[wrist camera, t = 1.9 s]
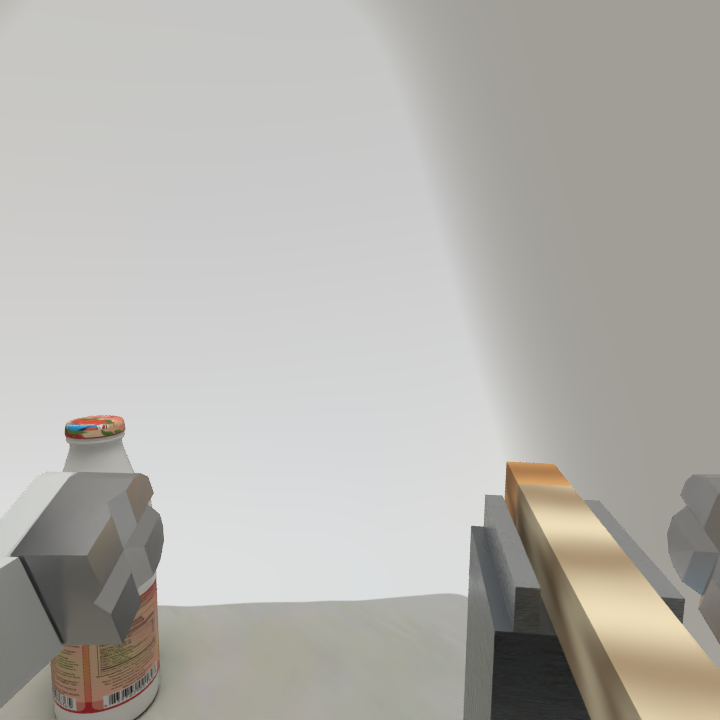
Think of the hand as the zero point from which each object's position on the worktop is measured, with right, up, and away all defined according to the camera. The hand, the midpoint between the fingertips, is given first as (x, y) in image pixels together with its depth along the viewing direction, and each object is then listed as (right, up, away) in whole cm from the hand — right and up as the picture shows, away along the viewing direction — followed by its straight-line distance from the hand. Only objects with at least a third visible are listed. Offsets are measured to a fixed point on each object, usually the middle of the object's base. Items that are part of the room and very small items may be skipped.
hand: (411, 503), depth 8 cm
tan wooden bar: (+9, -9, +16) cm, 20 cm away
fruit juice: (-25, -31, +43) cm, 59 cm away
